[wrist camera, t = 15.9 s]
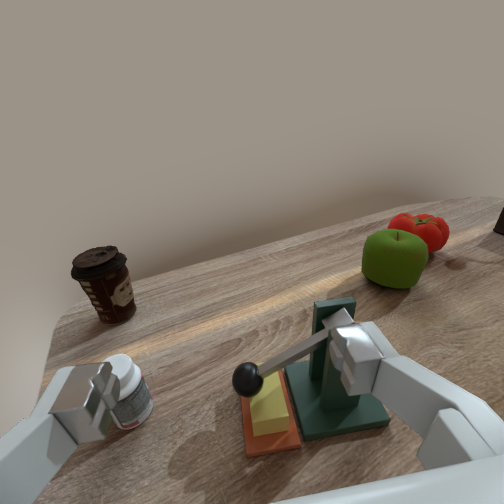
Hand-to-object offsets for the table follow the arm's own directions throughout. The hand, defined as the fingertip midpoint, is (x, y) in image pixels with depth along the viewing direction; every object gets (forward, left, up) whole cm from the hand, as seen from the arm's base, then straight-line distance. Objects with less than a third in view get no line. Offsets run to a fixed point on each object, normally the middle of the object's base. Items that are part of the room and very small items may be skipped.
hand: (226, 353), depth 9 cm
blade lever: (+13, +3, -17) cm, 22 cm away
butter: (+10, +6, -25) cm, 27 cm away
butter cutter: (+16, 0, -25) cm, 30 cm away
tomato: (+62, -2, -25) cm, 67 cm away
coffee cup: (+8, +39, -25) cm, 47 cm away
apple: (+46, 0, -25) cm, 52 cm away
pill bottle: (0, +20, -25) cm, 32 cm away
